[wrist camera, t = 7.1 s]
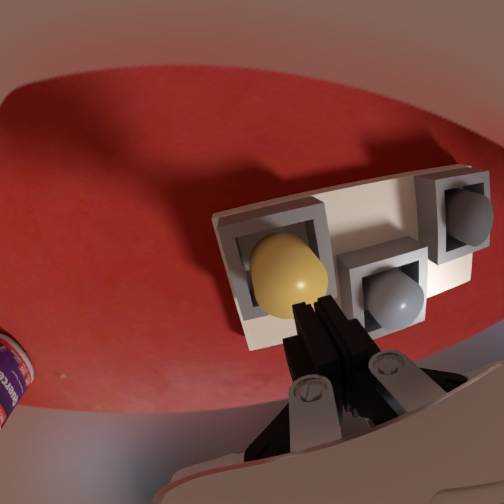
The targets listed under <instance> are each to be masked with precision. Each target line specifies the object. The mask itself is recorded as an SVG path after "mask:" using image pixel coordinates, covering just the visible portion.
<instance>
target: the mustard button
mask: <svg viewBox="0 0 504 504" xmlns="http://www.w3.org/2000/svg"><path fill="white" fill-rule="evenodd" d="M250 270H251V276H252V282H253V288H254V293H255V297H256V300H257V302H258V304H259V305H260V307H261V308H262V309H263V310H264V311H265V312H266V313H268V314H270V315H271V316H274V317H277V318H281V319H294V315H293V310H292V305H293V304H297V303H301V302H305V303H306V305H307V304H311V306H312V307H313V309H314V302H318V301H317V299H318V298H319V297H323V296H325V295H326V292H327V288H328V276H327V272H326V269H325V267H324V265H323V264H322V263H321V261H320V260H319V259H318V258H317V256H316V255H315V254H314V253H313V251H312V250H311V249H310V248H309V246H308V245H307V244H306V243H305V241H304V240H303V239H302V238H300V237H299V236H297V235H296V234H293V233H291V232H285V231H278V232H273V233H270V234H268V235H266V236H264V237H263V238H262V239H260V240H259V241H258V242H257V243H256V245H255V246H254V248H253V250H252V252H251V255H250Z"/></svg>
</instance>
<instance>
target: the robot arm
mask: <svg viewBox="0 0 504 504" xmlns="http://www.w3.org/2000/svg"><path fill="white" fill-rule="evenodd" d="M317 301H318V302H314V309H313V307H312V306H311V304H307V305H306V303H305V302H301V303H297V304H293V305H292V310H293V315H294V320H295V325H296V331H297V335H295V336H291V337H287V338H283V339H282V341H283V346H284V350H285V354H286V359H287V363H288V366H289V370H290V374H291V377H292V381H293V383H292V385H291V386H290V388H289V403H288V404H287V405H286V406H285V408H284V409H283V410H282V411H281V412H280V413H279V414H278V415H277V417H276V418H275V419H274V420H273V421H272V422H271V423H270V424H269V425H268V426H267V428H266V429H265V430H264V431H263V432H262V433H261V434H260V435H259V436H258V437H257V438H256V439H255V440H254V441H253V442H252V443H251V444H250V445H249V447H248V448H247V449H246V451H245V452H243V453H241V454H238V455H236V454H235V453H232V454H229V455H227V456H224V457H220V458H218V459H214V460H211V461H207V462H204V463H200V464H197V465H193V466H190V467H186V468H183V469H181V470H178V471H177V472H176V473H175V474H174V475H173V477H172V479H171V484H169V485H167V486H165V487H164V488H162V489H161V490H160V491H159V492H158V493H156V495H155V496H154V497H153V499H152V501H151V503H150V504H504V359H503V360H499V361H497V362H494V363H492V364H489V365H486V366H483V367H481V368H477V369H475V370H472V371H469V372H466V373H465V376H462V375H460V374H456V373H450V372H443V371H437V370H430V369H424V368H419V367H418V366H417V365H416V364H415V363H413V362H412V361H411V360H410V359H409V358H408V357H407V356H406V355H404V354H403V353H401V352H399V351H396V350H384V351H380V349H379V348H378V346H377V345H376V344H375V342H374V341H373V339H372V338H371V337H370V335H369V334H368V333H367V331H366V330H365V328H364V327H363V326H362V324H361V323H360V322H359V320H358V319H357V318H353V319H350V320H348V319H347V317H346V316H345V315H344V313H343V312H342V310H341V309H340V307H339V306H338V304H337V303H336V302H335V300H334V299H333V297H332V296H331V295H327V296H323V297H319V298H318V299H317ZM314 310H315V311H314ZM343 406H344V408H345V411H346V412H349V411H351V413H352V415H353V417H357V416H361V417H365V418H366V421H367V423H368V425H369V426H370V428H369V429H366V430H364V431H361V432H358V433H355V434H353V435H350V436H347V437H344V438H342V436H341V431H340V425H341V423H342V422H343Z"/></svg>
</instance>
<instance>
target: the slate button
mask: <svg viewBox="0 0 504 504" xmlns="http://www.w3.org/2000/svg"><path fill="white" fill-rule="evenodd" d="M362 287H363V302H364V306H365V307H366V308H367V310H368V311H369V312H370V313H371V315H372V316H373V317H374V318H375V320H376V321H377V322H378V323H379V325H380V326H381V327H382V328H383V329H385V330H387V331H399V330H401V329H404V328H406V327H407V326H409V325H410V324H411V323H412V322H413V321H414V320H415V319H416V318H417V316H418V315H419V313H420V312H421V309H422V307H423V303H424V293H423V290H422V288H421V286H420V285H419V284H418V283H416V282H415V281H414V280H412V279H411V278H410V277H409V276H407V275H406V274H405V273H404V272H402V271H401V270H400V269H398V268H397V267H396V268H392V269H389V270H386V271H383V272H379V273H376V274H373V275H369V276H366V277H362Z"/></svg>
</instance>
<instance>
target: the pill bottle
mask: <svg viewBox="0 0 504 504" xmlns="http://www.w3.org/2000/svg"><path fill="white" fill-rule="evenodd" d="M33 377H34V372H33V367H32V364H31V362H30V360H29V358H28V356H27V355H26V353H25V352H24V351H23V349H22V348H21V347H20V346H19V345H18V344H17V343H16V342H15V341H14V340H13V339H11V338H10V337H8V336H6V335H3V334H0V430H1V429H2V427H3V425H4V424H5V422H6V420H7V419H8V417H9V415H10V414H11V412H12V411H13V409H14V408H15V406H16V405H17V403H18V402H19V400H20V399H21V397H22V396H23V394H24V393H25V391H26V390H27V388H28V387H29V386H30V384H31V382H32V381H33Z"/></svg>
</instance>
